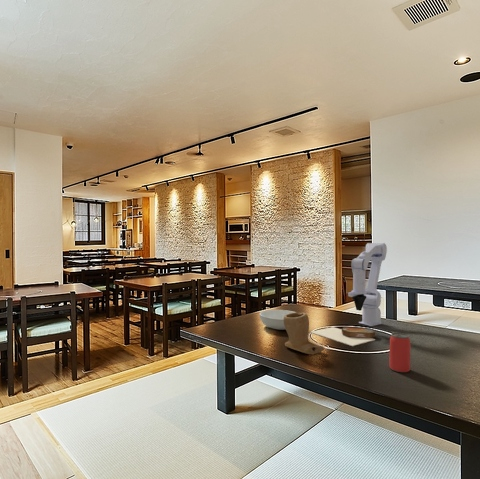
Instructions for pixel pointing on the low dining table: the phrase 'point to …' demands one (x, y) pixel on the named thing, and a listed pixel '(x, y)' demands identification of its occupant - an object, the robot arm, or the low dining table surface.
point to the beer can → (399, 352)
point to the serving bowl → (274, 318)
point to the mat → (341, 336)
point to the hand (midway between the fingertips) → (358, 310)
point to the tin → (358, 332)
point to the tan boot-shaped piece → (299, 333)
